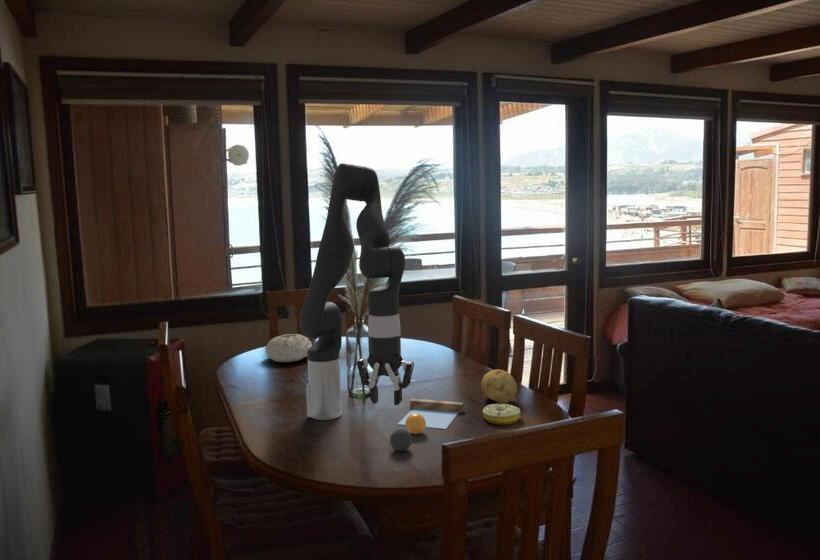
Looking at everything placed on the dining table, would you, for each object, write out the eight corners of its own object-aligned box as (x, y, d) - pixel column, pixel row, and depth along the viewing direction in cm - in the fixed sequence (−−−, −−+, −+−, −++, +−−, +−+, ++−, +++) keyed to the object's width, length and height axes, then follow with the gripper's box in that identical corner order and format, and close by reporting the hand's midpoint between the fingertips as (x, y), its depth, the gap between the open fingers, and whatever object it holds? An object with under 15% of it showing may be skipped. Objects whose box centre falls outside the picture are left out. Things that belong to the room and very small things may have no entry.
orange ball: (402, 436, 178) (402, 416, 177) (409, 429, 183) (408, 409, 183) (422, 438, 176) (422, 418, 176) (428, 430, 182) (428, 411, 181)
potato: (503, 393, 212) (503, 363, 211) (522, 405, 200) (522, 373, 199) (474, 397, 209) (473, 366, 208) (491, 410, 197) (491, 377, 196)
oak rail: (410, 408, 200) (409, 400, 200) (412, 406, 202) (412, 398, 202) (462, 413, 195) (461, 404, 195) (463, 410, 197) (463, 402, 197)
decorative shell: (261, 357, 265) (260, 333, 264) (305, 352, 273) (304, 328, 271) (272, 368, 249) (271, 342, 248) (318, 362, 257) (317, 336, 255)
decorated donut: (505, 411, 197) (505, 399, 196) (528, 422, 187) (528, 409, 187) (475, 417, 192) (475, 404, 191) (497, 429, 182) (497, 415, 182)
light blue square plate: (397, 424, 187) (397, 424, 187) (413, 408, 200) (413, 408, 200) (445, 429, 182) (445, 428, 182) (458, 412, 195) (458, 412, 195)
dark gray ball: (387, 453, 167) (386, 432, 166) (394, 445, 172) (394, 424, 171) (407, 455, 165) (407, 434, 164) (414, 447, 170) (414, 426, 170)
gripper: (349, 334, 154) (352, 406, 156) (408, 337, 149) (410, 411, 152) (361, 328, 161) (364, 396, 163) (418, 330, 156) (420, 401, 159)
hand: (386, 403), depth 158 cm, fingers open, 5 cm apart
